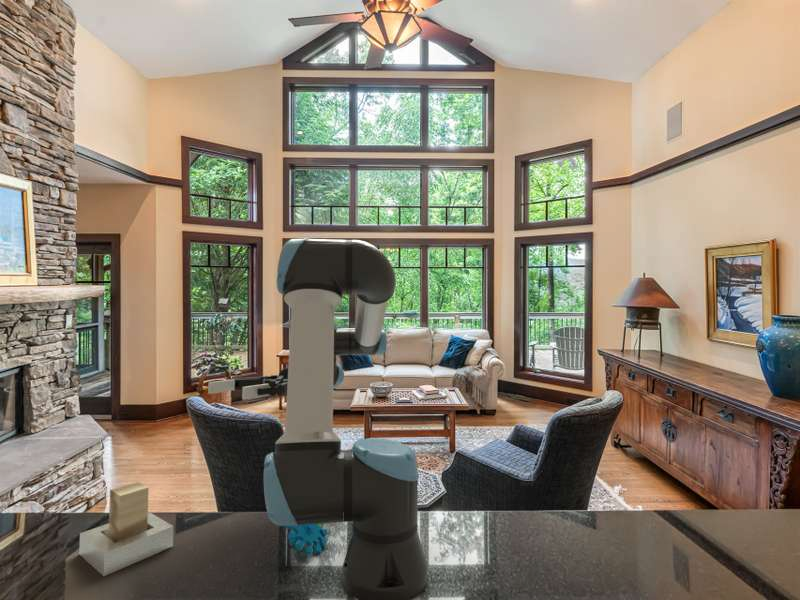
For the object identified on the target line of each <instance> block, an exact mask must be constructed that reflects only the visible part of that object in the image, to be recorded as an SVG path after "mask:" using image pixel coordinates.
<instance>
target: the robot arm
mask: <svg viewBox="0 0 800 600" xmlns="http://www.w3.org/2000/svg"><path fill="white" fill-rule="evenodd" d="M276 274H277V276H276V288H277V291H278V293H279V294H280V295H281V294H282V295H283V296H284V297H283V299H284V300H283V301H284V302H285V303H286V305H287V306H289V307H290V309H291V310H290V311H291V312H290V329H289V346H288V347H289V350H288V351H289V352H288V367H284V368H283V369H282V370H281V371H280V372H279V373H278V375H277V374H271V375H263V376H254V377H253V376H252V377H251V376H250V377H236V378H234V377H231V378H229V379H225V380H217V381H209V382H208V386H207V387H208V391H207V394H208V395H212V394H219V393H227V392H230V393H235V391H236V390H242V394H241V400H243V401H245V400H251V399H252V400H253V399H256V398H257V399H258V398H263V397H268V396H276V395H277V397H281V396H285V397H286V403H285V404H286V405H285V423H284V433H283V434H281V436H280V437H279V438H278V439H277V440H276V441H275V446H274V447H275V448H274V452H272V451H271V452H270V453H268V454H266V456H265V458H264V469H263V491H264V492H263V494H264V502H265V509H266V512H267V516H268V518H269V520H270V521H271V523H273V524H274V525H276V526H280V527H281V526H285V525H295V526H297V527H298V526H300V525H305V524H322V523H324V524H334V523H336V524H337V523H349V522H350V523H351V522H352V535H351V536H350V541H349V544H348V547H347V550H346V553H345V556H344V559H343V562H342V570H341V571H342V572H341V573H342V576H341V577H342V578H341V579H342V580H341V581H342V585H343V588H344V589H345V591H346V592H347V593H348V594H349V595H350V596H352V597H353V598H355V599H356V600H411V599H413V598H415V597H416V596H418V595H419V594H420V593H422V592H423V590H424V589H425V588H426V585H427V583H428V578H429V577H428V570H429V569H428V567H429V566H428V561H427V558H426V556H425V554H424V550H423V545H422V542H421V538H420V536H419V532H418V531H419V530H418V529H419V528H418V526H419V525H418V512H419V511H418V510H419V509H418V507H419V506H418V504H419V502H418V494H419V493H418V484H419V483H418V480H419V478H420V477H419V472H418V471H419V470H418V459H417V454H416V453H415V451H414V450H413V449H412V448H411V447H409V446H408V445H406V444H405V443H402V442H399V441H397V440H396V441H395V440H392V439H386V438H381V437H380V438H376V437H374V438H373V437H368V438H363V439H362V438H360V439H358V440H357V439H356V441H355V442H354V443H353V445H352V447H351V449H350V450H349V449H348V450H346V449H344V450H342V449H341V448H342V445H341V444H342V439H341V438H340V437H339V436H338V435H337V434H336V433H335V431H334V428H333V427H334V426H333V425H334V419H333V418H334V388H338V387H340V386H341V385H342V383H343V381H344V379H345V372H344V369H343V366H342V365H341V364H339V363H338V362H337V356H378V355H384V354H386V351H387V342H388V341H387V332H386V331H385V330H384V329H383V328H384V321H385V317H386V311H387V308H388V307H387V306H388V302H389V301H390V299H392V297H393V296H394V293H395V290H396V289H395V288H396V283H397V282H396V281H397V280H396V274H395V270H394V268H393V266H392V263H391V261H390V259H388V257H387V256H386V255H385V254H384V252H382V251H381V250H380V249H378V248H377V247H376V246H375V245H373V244H372V243H369V242H367V241H364V240H360V239H328V238H327V239H320V238H319V239H318V238H309V237H304V238H291V239H289V240H287V241H286V242H285V243H284V244H283V246H282V247H281V251H280V254H279V258H278V263H277V273H276ZM343 295H355V296H356V311H355V324H354V325H355V326H354V328H355V329H344V328H343V329H341V328H338V327H337V324H336V323H335V310H336V309H337V308H338V307H339V306H340V305H341V304H342V302H343Z"/></svg>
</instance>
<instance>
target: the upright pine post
mask: <svg viewBox="0 0 800 600" xmlns="http://www.w3.org/2000/svg"><path fill="white" fill-rule="evenodd" d="M108 508H109V509H108V510H109V512H108V513H109V515H108V516H109V517H108V523H109V536H108V538H109V539H110V540H112V541H113V542H114V543H116V542H118V541H121V540H123V539H126V538H129V537H131V536H134V535H136V534H139V533H142V532H144V531H147V522H148V512H149V487H148V486H147V485H145V484H143V483H141V482H139V481H135V482H132V483H129V484H125V485H122V486H118V487H115V488H111V489H109V507H108Z"/></svg>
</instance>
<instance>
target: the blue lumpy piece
mask: <svg viewBox="0 0 800 600" xmlns="http://www.w3.org/2000/svg"><path fill="white" fill-rule="evenodd" d="M324 524H325V523H322V524H305V525H300V526H298V527H297V526H295V525H284V528H285V529H286V530H292V531H290V532H289V533H288V535H287V537H288V540H289V545H290V546H291V547H293V546H294V547H295V548H296V550H297V551H301V550H302V549H303V548H304V545H305V544H306V545H307V548H306V549H304V554H306V555H308V556H311V555H312V554H313V553H314V554H317V555H318V554H320V553H321V552H322V551H323V550H322V549H323V548H324V547H325V545H327V543H328V541H327V539H325V537H327V535H328V530H327V529H326V528H323V525H324ZM313 546H314V549H313Z"/></svg>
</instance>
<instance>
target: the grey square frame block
mask: <svg viewBox="0 0 800 600" xmlns="http://www.w3.org/2000/svg"><path fill="white" fill-rule="evenodd" d="M108 536H109V522H108V523H106V524H103V525H100V526H98V527H97V526H96V527H94V528H91V529H89V530H85V531H83V532H80V533H79V551H78V552H79V553H78V555H79V556H80V557H82V558H83V559H84V560H85V561H86V562H87V563H88V564H89V565H91V566H92V567H93V568H94V569H95V570H96V571H97V572H98V573H99V574H100V575H101V576H103V577H106V576H107V575H108V576H109V575H110V574H113V573H114V572H115V573H116V572H118V571H119V570H121V569H122V570H123V569H125V568H126V567H129V566H131V565H133V564H136V563H138V562H141V561H143V560H144V559H148V558H149V557H152V556H154V555H157V554H158V553H161V552H163V551H166V550H169V549H170V548H173V547H174V525H172V524H171V523H169V522H167V521H165V520H164V519H162V518H160V517H159V516H157V515H155V514H153V513H152V512H150V511H148V522H147V531H144V532H142V533H139V534H136V535H134V536H131V537H129V538H126V539H123V540H121V541H118V542H116V543H114V542H113V541H112V540H110V539H109V538H108Z"/></svg>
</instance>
